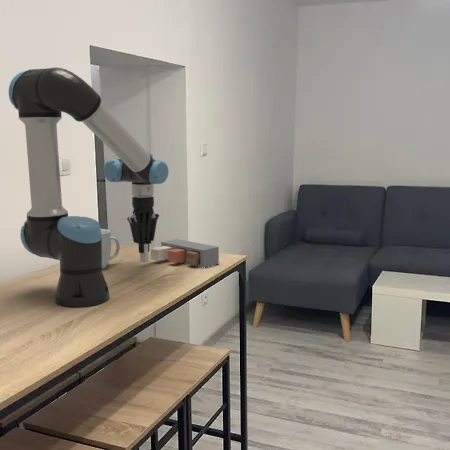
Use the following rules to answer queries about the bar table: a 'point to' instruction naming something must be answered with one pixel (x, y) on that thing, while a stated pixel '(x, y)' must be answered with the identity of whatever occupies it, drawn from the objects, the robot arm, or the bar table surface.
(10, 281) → the bar table surface
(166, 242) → the socket block
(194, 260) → the walnut peg
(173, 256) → the brick peg
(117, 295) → the bar table surface
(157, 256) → the cream peg
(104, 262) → the mug
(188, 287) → the bar table surface
